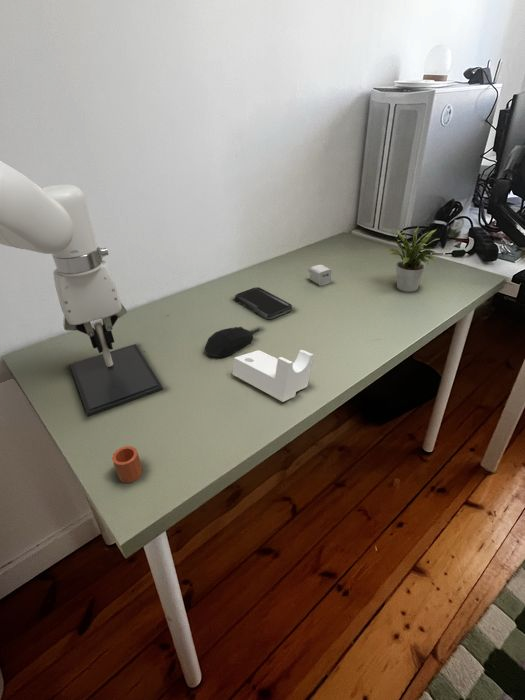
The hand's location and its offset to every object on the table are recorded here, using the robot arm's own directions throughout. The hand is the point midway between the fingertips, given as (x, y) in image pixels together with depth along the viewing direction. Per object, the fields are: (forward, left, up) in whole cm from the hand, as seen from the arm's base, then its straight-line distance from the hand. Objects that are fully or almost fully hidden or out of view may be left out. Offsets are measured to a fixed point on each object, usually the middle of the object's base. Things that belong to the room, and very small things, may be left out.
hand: (104, 347), depth 86 cm
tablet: (0, -3, -6) cm, 6 cm away
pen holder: (-4, -29, -6) cm, 30 cm away
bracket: (+26, -21, -6) cm, 34 cm away
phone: (+40, +7, -6) cm, 41 cm away
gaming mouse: (+26, -5, -6) cm, 27 cm away
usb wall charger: (+60, +11, -6) cm, 61 cm away
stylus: (0, 0, -5) cm, 5 cm away
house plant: (+75, -6, -6) cm, 75 cm away
